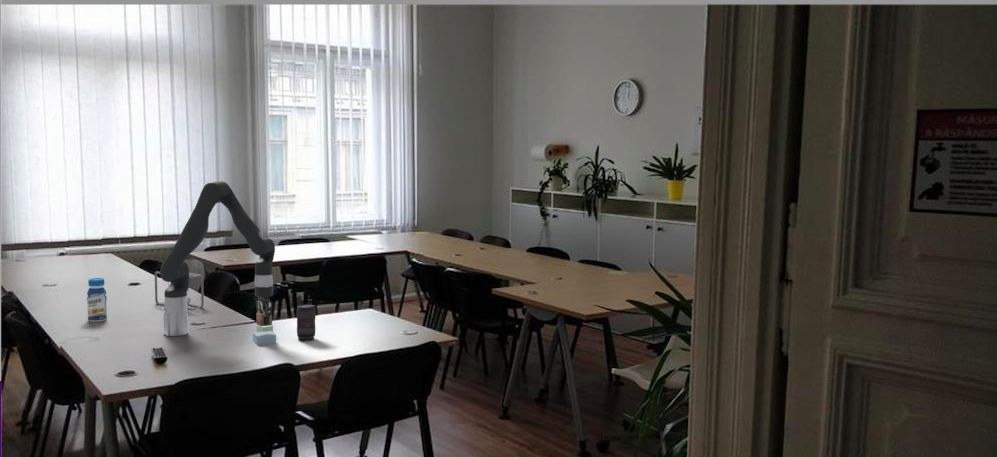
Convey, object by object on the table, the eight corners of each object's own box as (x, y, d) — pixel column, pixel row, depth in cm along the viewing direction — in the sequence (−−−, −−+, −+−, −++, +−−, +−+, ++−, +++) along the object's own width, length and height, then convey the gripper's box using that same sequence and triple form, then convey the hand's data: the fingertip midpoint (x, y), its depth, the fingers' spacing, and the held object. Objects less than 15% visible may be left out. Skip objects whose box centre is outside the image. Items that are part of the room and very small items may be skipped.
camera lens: (319, 338, 351) (318, 304, 350) (309, 342, 344) (309, 308, 342) (302, 336, 354) (302, 303, 352) (293, 340, 346) (293, 306, 344)
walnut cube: (260, 326, 338) (260, 314, 338) (256, 324, 342) (256, 313, 342) (272, 325, 341) (272, 313, 341) (267, 323, 345) (267, 311, 345)
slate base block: (256, 345, 337) (256, 336, 337) (252, 341, 344) (252, 332, 344) (275, 344, 341) (275, 334, 340) (271, 340, 348) (271, 331, 347)
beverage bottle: (111, 318, 382) (109, 277, 381) (100, 322, 374) (99, 280, 372) (94, 318, 383) (93, 277, 381) (83, 321, 375) (82, 280, 373)
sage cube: (263, 338, 349) (263, 327, 349) (256, 336, 352) (256, 325, 352) (273, 336, 353) (272, 325, 353) (266, 334, 356) (266, 324, 356)
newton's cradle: (154, 303, 422) (154, 270, 420) (173, 301, 430) (172, 268, 428) (185, 311, 403) (184, 277, 402) (204, 308, 411) (203, 274, 410)
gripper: (249, 283, 343) (249, 321, 345) (261, 288, 332) (261, 327, 334) (266, 281, 348) (266, 320, 349) (278, 286, 337) (279, 325, 338)
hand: (264, 323), depth 342 cm, fingers closed on walnut cube, 5 cm apart
